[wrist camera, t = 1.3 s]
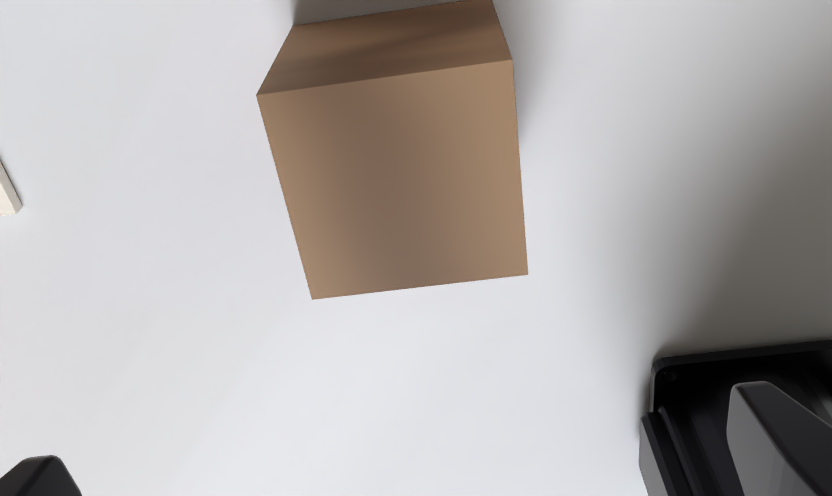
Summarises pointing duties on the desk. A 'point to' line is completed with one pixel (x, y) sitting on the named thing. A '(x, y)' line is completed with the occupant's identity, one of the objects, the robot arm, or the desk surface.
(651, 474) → the robot arm
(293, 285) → the desk surface
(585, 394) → the desk surface
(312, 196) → the walnut cube
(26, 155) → the desk surface
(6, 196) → the swatch
